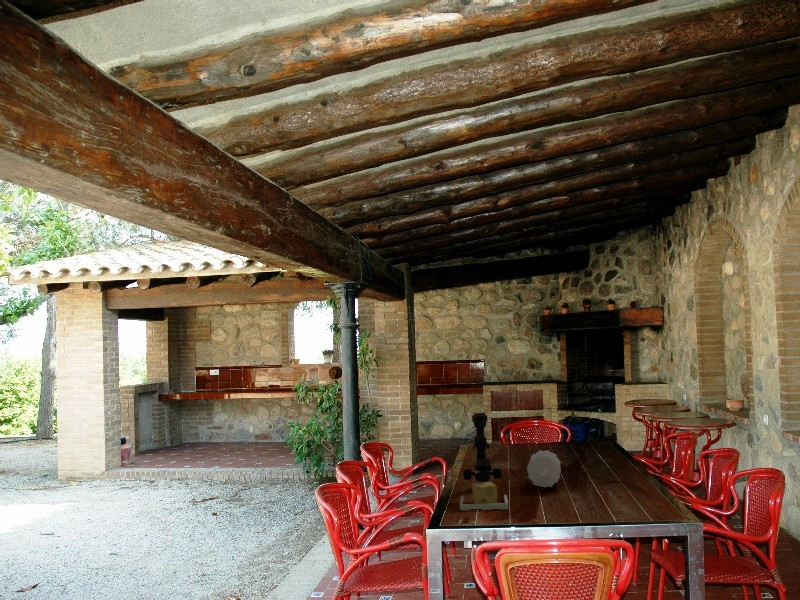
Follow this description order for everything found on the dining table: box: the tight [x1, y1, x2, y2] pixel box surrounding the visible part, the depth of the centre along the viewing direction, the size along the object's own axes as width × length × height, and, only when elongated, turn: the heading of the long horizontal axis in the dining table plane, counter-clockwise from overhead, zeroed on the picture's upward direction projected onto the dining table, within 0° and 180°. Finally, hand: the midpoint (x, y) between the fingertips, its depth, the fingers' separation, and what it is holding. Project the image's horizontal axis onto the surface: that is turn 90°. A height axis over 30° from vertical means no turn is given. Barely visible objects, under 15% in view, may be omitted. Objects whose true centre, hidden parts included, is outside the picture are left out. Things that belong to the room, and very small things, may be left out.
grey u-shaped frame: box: [459, 494, 509, 511], centre depth 338 cm, size 19×22×2 cm
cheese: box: [471, 481, 498, 504], centre depth 339 cm, size 10×11×10 cm
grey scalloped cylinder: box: [526, 449, 562, 488], centre depth 377 cm, size 18×18×25 cm
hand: (483, 488), depth 344 cm, fingers closed
